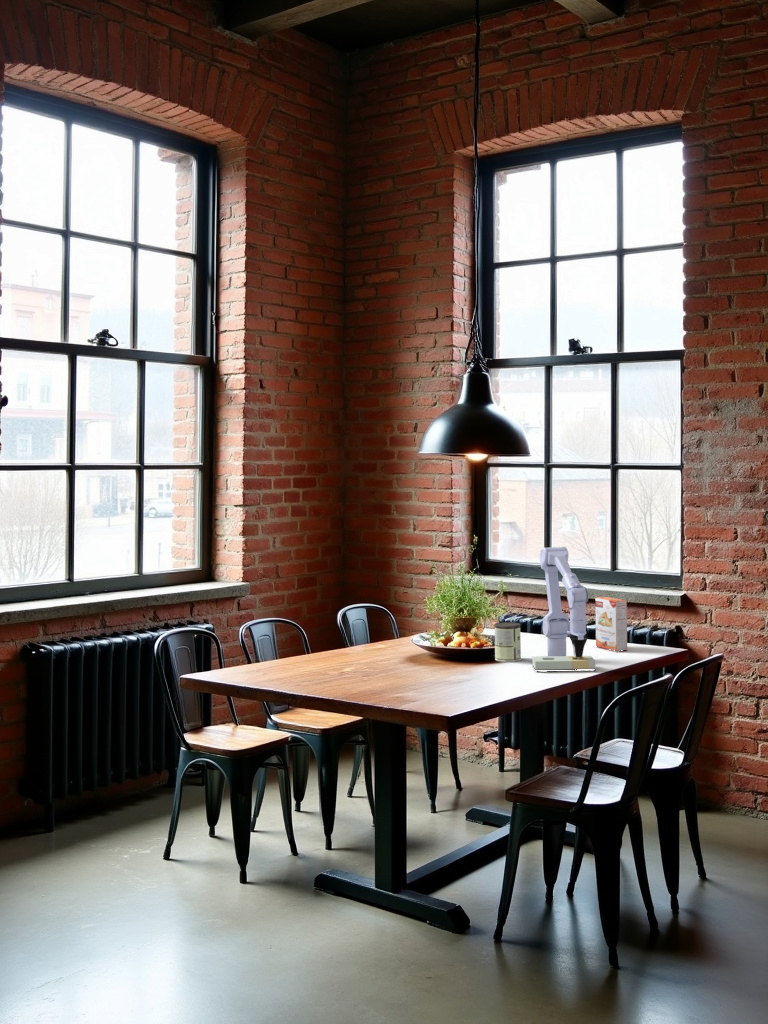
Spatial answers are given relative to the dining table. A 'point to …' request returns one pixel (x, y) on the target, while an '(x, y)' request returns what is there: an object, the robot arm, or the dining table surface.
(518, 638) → the coffee can
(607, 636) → the cracker box
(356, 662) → the dining table surface
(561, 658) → the hole block
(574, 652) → the steel peg
